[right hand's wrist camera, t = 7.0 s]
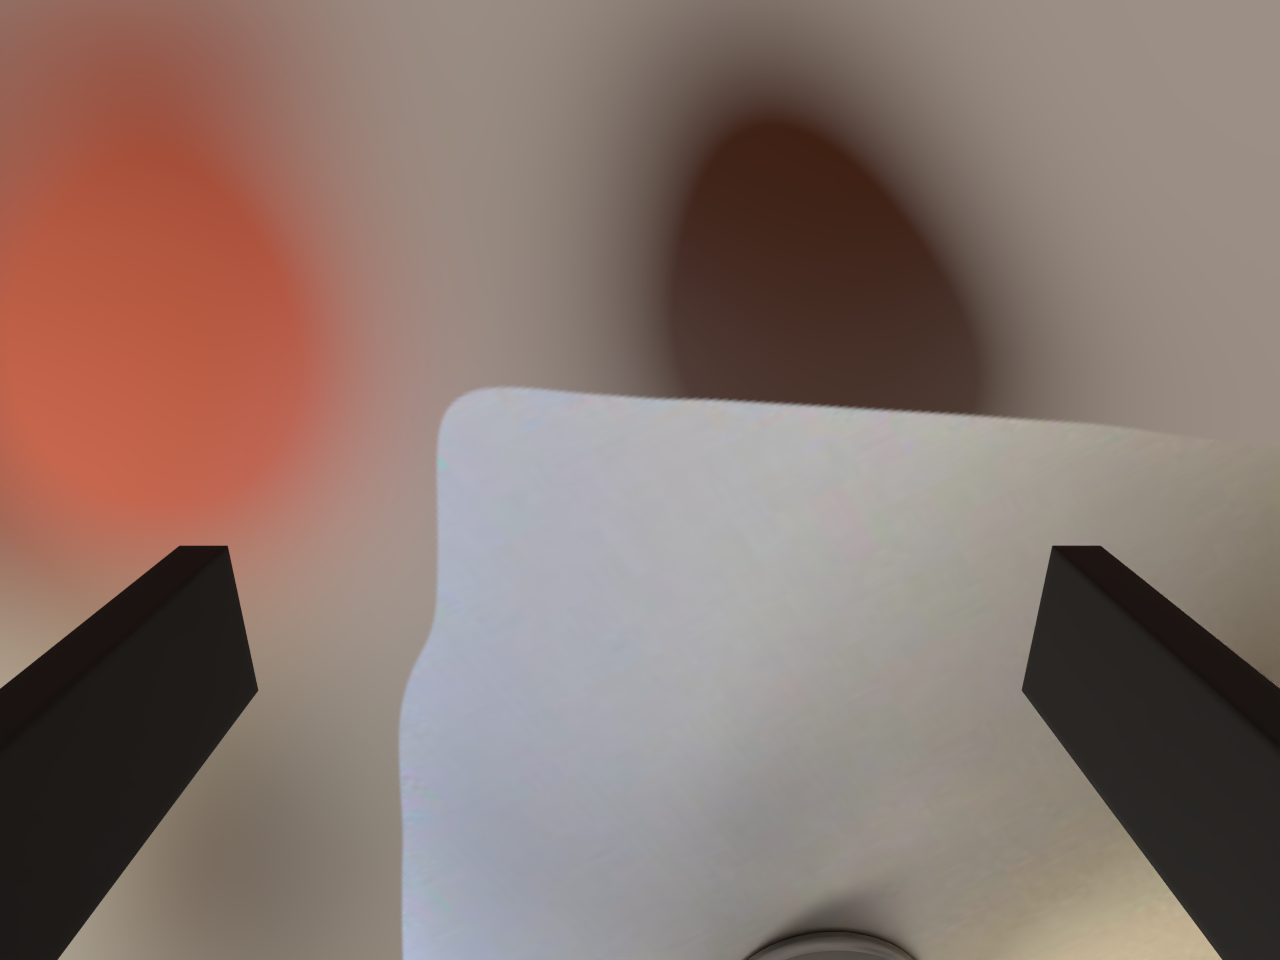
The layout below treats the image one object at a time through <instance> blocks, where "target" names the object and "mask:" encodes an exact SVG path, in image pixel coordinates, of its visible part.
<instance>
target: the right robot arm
mask: <svg viewBox="0 0 1280 960" xmlns="http://www.w3.org/2000/svg"><path fill="white" fill-rule="evenodd" d="M257 691H258V687H257V682H256V678H255V673H254V668H253V663H252V659H251V654H250V649H249V644H248V640H247V635H246V630H245V626H244V621H243V616H242V611H241V607H240V602H239V597H238V593H237V588H236V583H235V578H234V574H233V569H232V564H231V559H230V555H229V550H228V546H179V547H177V548H176V549H175V550H174V551H172V552H171V553H170V554H169V555H167V556H166V557H165V558H164V559H162V560H161V561H160V562H159V563H157V564H156V565H155V566H154V567H152V568H151V569H150V570H149V571H147V572H146V573H145V574H144V575H142V576H141V577H140V578H139V579H137V580H136V581H135V582H134V583H132V584H131V585H130V586H128V587H127V588H126V589H125V590H124V591H122V592H121V593H120V594H118V595H117V596H116V597H115V598H113V599H112V600H111V601H110V602H108V603H107V604H106V605H105V606H103V607H102V608H101V609H100V610H98V611H97V612H96V613H95V614H93V615H92V616H91V617H90V618H88V619H87V620H86V621H85V622H83V623H82V624H81V625H80V626H78V627H77V628H76V629H75V630H73V631H72V632H71V633H70V634H68V635H67V636H66V637H65V638H63V639H62V640H61V641H60V642H58V643H57V644H56V645H55V646H53V647H52V648H51V649H50V650H48V651H47V652H46V653H45V654H43V655H42V656H41V657H39V658H38V659H37V660H36V661H34V662H33V663H32V664H31V665H29V666H28V667H27V668H26V669H24V670H23V671H22V672H21V673H19V674H18V675H17V676H16V677H14V678H13V679H12V680H11V681H9V682H8V683H7V684H6V685H4V686H3V687H2V688H1V689H0V960H58V958H59V957H60V956H61V954H62V953H63V952H64V950H65V949H66V948H67V946H68V945H69V944H70V942H71V941H72V940H73V938H74V937H75V936H76V934H77V933H78V932H79V930H80V929H81V928H82V926H83V925H84V924H85V922H86V921H87V920H88V918H89V917H90V915H91V914H92V913H93V911H94V910H95V909H96V907H97V906H98V905H99V903H100V902H101V901H102V899H103V898H104V897H105V895H106V894H107V893H108V891H109V890H110V889H111V887H112V886H113V885H114V883H115V882H116V881H117V879H118V878H119V877H120V875H121V874H122V873H123V871H124V870H125V869H126V867H127V866H128V864H129V863H130V862H131V860H132V859H133V858H134V856H135V855H136V854H137V852H138V851H139V850H140V848H141V847H142V846H143V844H144V843H145V842H146V840H147V839H148V838H149V836H150V835H151V834H152V832H153V831H154V830H155V828H156V827H157V826H158V824H159V823H160V822H161V820H162V819H163V817H164V816H165V815H166V814H167V812H168V811H169V809H170V808H171V807H172V805H173V804H174V803H175V801H176V800H177V799H178V797H179V796H180V795H181V793H182V792H183V791H184V789H185V788H186V787H187V785H188V784H189V783H190V781H191V780H192V779H193V777H194V776H195V775H196V773H197V772H198V771H199V769H200V768H201V766H202V765H203V764H204V763H205V761H206V760H207V759H208V757H209V756H210V755H211V753H212V752H213V750H214V749H215V748H216V746H217V745H218V744H219V742H220V741H221V740H222V738H223V737H224V736H225V734H226V733H227V732H228V730H229V729H230V728H231V726H232V725H233V724H234V722H235V721H236V720H237V718H238V717H239V716H240V714H241V713H242V712H243V710H244V709H245V708H246V706H247V705H248V704H249V702H250V701H251V700H252V698H253V697H254V696H255V694H256V693H257ZM1022 691H1023V693H1024V694H1025V696H1026V697H1027V698H1028V700H1029V701H1030V702H1031V704H1032V705H1033V706H1034V708H1035V709H1036V710H1037V712H1038V713H1039V714H1040V716H1041V717H1042V718H1043V720H1044V721H1045V722H1046V724H1047V725H1048V726H1049V728H1050V729H1051V730H1052V732H1053V733H1054V734H1055V736H1056V737H1057V738H1058V740H1059V741H1060V742H1061V744H1062V745H1063V746H1064V748H1065V749H1066V750H1067V752H1068V753H1069V755H1070V756H1071V757H1072V759H1073V760H1074V761H1075V763H1076V764H1077V765H1078V767H1079V768H1080V769H1081V771H1082V772H1083V773H1084V775H1085V776H1086V777H1087V779H1088V780H1089V781H1090V783H1091V784H1092V785H1093V787H1094V788H1095V789H1096V791H1097V792H1098V793H1099V795H1100V796H1101V797H1102V799H1103V800H1104V801H1105V803H1106V804H1107V805H1108V807H1109V808H1110V810H1111V811H1112V812H1113V814H1114V815H1115V816H1116V818H1117V819H1118V820H1119V822H1120V823H1121V824H1122V826H1123V827H1124V828H1125V830H1126V831H1127V832H1128V834H1129V835H1130V836H1131V838H1132V839H1133V840H1134V842H1135V843H1136V844H1137V846H1138V847H1139V848H1140V850H1141V851H1142V852H1143V854H1144V855H1145V856H1146V858H1147V859H1148V860H1149V862H1150V863H1151V865H1152V866H1153V867H1154V869H1155V870H1156V871H1157V873H1158V874H1159V875H1160V877H1161V878H1162V879H1163V881H1164V882H1165V883H1166V885H1167V886H1168V887H1169V889H1170V890H1171V891H1172V893H1173V894H1174V895H1175V897H1176V898H1177V899H1178V901H1179V902H1180V903H1181V905H1182V906H1183V907H1184V909H1185V910H1186V911H1187V913H1188V914H1189V915H1190V917H1191V918H1192V920H1193V921H1194V922H1195V924H1196V925H1197V926H1198V928H1199V929H1200V930H1201V932H1202V933H1203V934H1204V936H1205V937H1206V938H1207V940H1208V941H1209V942H1210V944H1211V945H1212V946H1213V948H1214V949H1215V950H1216V952H1217V953H1218V954H1219V956H1220V957H1221V958H1222V960H1280V689H1279V688H1278V687H1277V686H1276V685H1274V684H1273V683H1272V682H1271V681H1269V680H1268V679H1267V678H1266V677H1264V676H1263V675H1262V674H1261V673H1259V672H1258V671H1257V670H1256V669H1254V668H1253V667H1252V666H1251V665H1249V664H1248V663H1247V662H1246V661H1244V660H1243V659H1242V658H1241V657H1239V656H1238V655H1237V654H1235V653H1234V652H1233V651H1232V650H1230V649H1229V648H1228V647H1227V646H1225V645H1224V644H1223V643H1222V642H1220V641H1219V640H1218V639H1217V638H1215V637H1214V636H1213V635H1212V634H1210V633H1209V632H1208V631H1207V630H1205V629H1204V628H1203V627H1202V626H1200V625H1199V624H1198V623H1197V622H1195V621H1194V620H1193V619H1192V618H1190V617H1189V616H1188V615H1187V614H1185V613H1184V612H1183V611H1182V610H1180V609H1179V608H1178V607H1177V606H1175V605H1174V604H1173V603H1172V602H1170V601H1169V600H1168V599H1167V598H1165V597H1164V596H1163V595H1162V594H1160V593H1159V592H1158V591H1157V590H1155V589H1154V588H1153V587H1152V586H1150V585H1149V584H1148V583H1146V582H1145V581H1144V580H1143V579H1141V578H1140V577H1139V576H1138V575H1136V574H1135V573H1134V572H1133V571H1131V570H1130V569H1129V568H1128V567H1126V566H1125V565H1124V564H1123V563H1121V562H1120V561H1119V560H1118V559H1116V558H1115V557H1114V556H1113V555H1111V554H1110V553H1109V552H1108V551H1106V550H1105V549H1104V548H1103V547H1101V546H1052V550H1051V555H1050V559H1049V564H1048V569H1047V573H1046V578H1045V583H1044V588H1043V592H1042V597H1041V602H1040V607H1039V611H1038V616H1037V621H1036V626H1035V630H1034V635H1033V640H1032V644H1031V649H1030V654H1029V659H1028V663H1027V668H1026V673H1025V678H1024V682H1023V687H1022ZM748 960H913V959H912V958H911V957H910V956H909V955H908V954H906V953H905V952H904V951H902V950H901V949H899V948H897V947H896V946H894V945H892V944H890V943H888V942H885V941H883V940H880V939H877V938H874V937H870V936H867V935H862V934H856V933H847V932H821V933H812V934H806V935H801V936H797V937H793V938H789V939H786V940H783V941H780V942H778V943H776V944H773V945H771V946H769V947H767V948H765V949H763V950H761V951H760V952H758V953H756V954H755V955H753V956H752V957H751V958H749V959H748Z"/></svg>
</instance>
